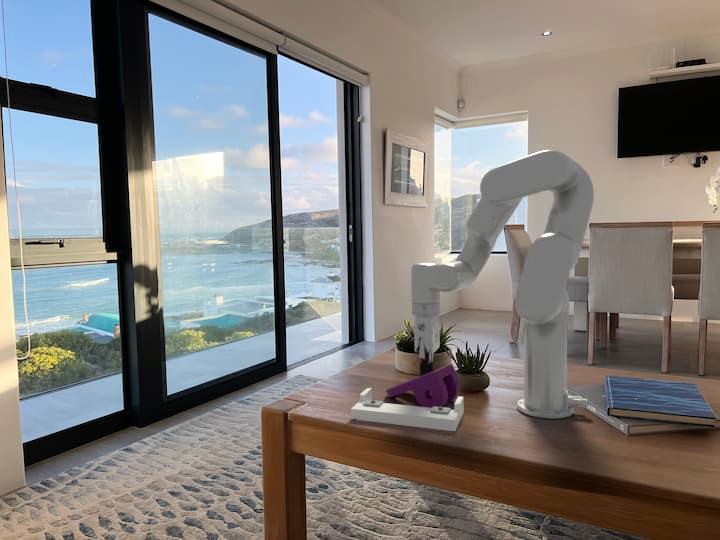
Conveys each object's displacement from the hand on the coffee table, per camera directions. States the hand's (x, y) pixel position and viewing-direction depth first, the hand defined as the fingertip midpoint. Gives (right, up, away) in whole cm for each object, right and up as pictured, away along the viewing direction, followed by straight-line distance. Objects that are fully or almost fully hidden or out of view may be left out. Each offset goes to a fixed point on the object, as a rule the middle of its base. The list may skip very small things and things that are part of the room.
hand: (426, 376), depth 137 cm
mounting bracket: (-3, -5, -7) cm, 9 cm away
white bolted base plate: (-7, -6, -18) cm, 20 cm away
